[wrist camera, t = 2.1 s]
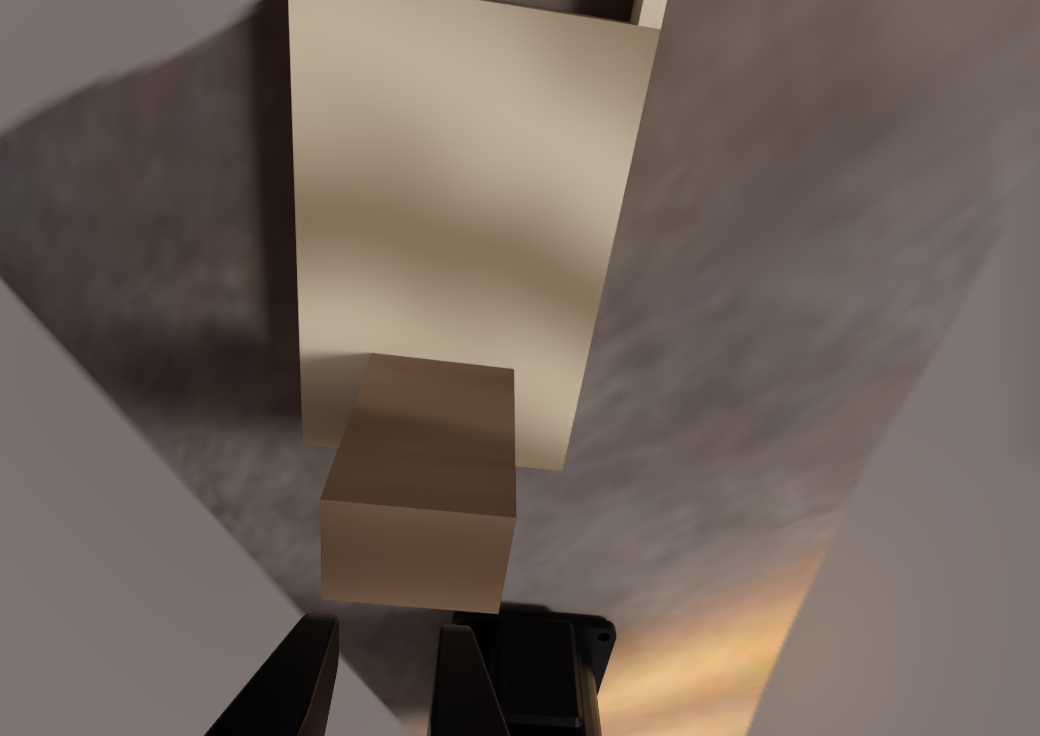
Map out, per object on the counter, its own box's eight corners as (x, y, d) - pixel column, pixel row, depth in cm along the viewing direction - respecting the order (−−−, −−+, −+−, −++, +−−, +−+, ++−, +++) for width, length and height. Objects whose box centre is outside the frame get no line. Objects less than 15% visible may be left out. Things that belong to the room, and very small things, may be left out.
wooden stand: (559, 447, 22) (579, 634, 16) (312, 421, 21) (232, 607, 15) (771, -534, 11) (1088, -1143, 5) (288, -647, 11) (-19, -1508, 4)
